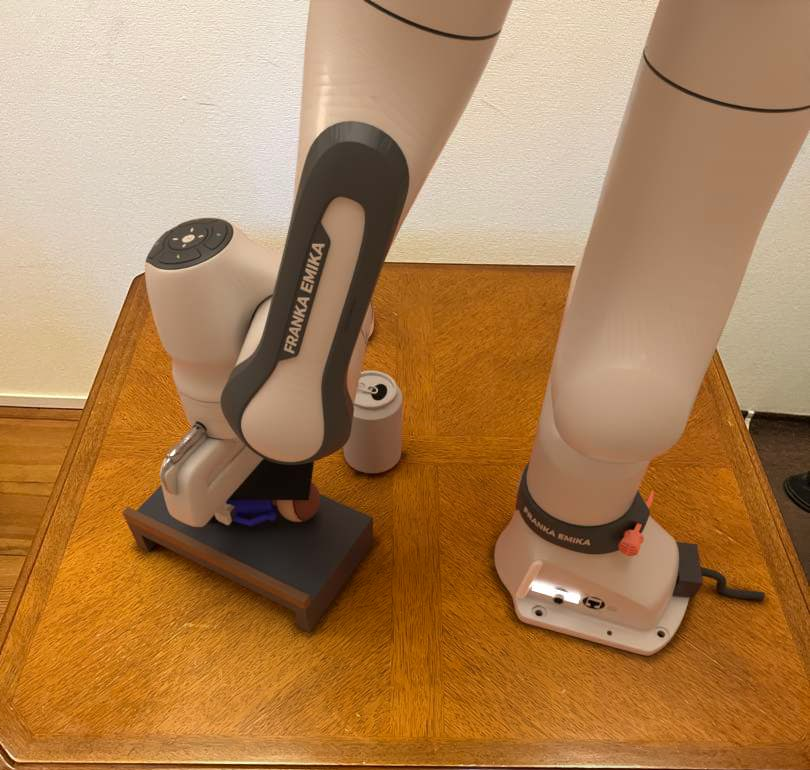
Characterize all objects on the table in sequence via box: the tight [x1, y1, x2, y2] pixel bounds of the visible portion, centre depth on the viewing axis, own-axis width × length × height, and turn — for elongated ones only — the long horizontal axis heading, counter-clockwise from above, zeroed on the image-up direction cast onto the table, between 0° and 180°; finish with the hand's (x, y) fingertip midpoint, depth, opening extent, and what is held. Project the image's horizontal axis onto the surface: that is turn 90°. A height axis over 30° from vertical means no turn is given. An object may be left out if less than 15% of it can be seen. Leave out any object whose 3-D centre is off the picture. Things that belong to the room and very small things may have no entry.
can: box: [342, 370, 403, 474], centre depth 91 cm, size 8×8×12 cm
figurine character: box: [208, 459, 321, 526], centre depth 81 cm, size 7×8×15 cm
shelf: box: [121, 484, 374, 634], centre depth 85 cm, size 24×14×7 cm, turn 62°
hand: (253, 488), depth 80 cm, fingers open, 8 cm apart
